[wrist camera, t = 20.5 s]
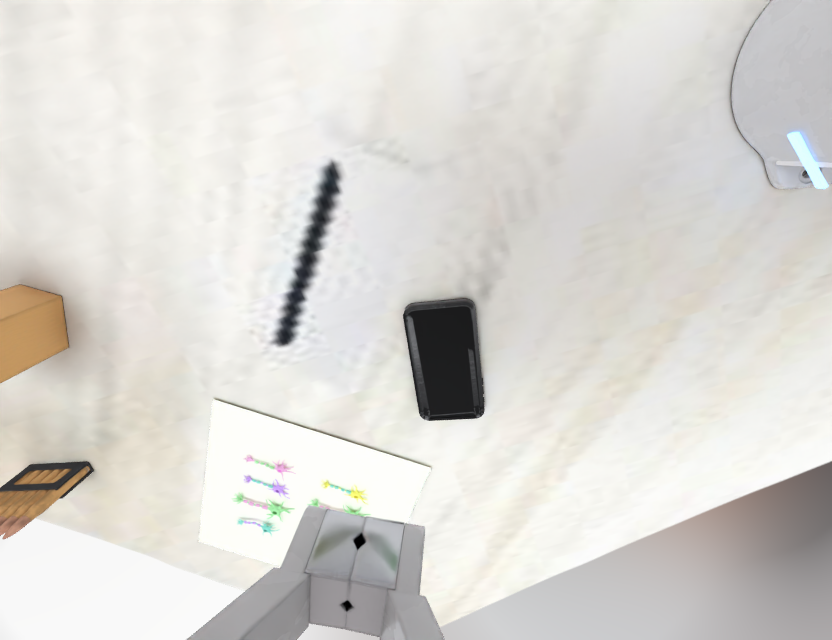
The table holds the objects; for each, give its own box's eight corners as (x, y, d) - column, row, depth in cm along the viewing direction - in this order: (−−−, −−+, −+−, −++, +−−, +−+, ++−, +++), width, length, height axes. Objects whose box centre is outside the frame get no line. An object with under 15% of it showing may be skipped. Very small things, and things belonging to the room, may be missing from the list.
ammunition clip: (88, 461, 59) (4, 533, 48) (94, 470, 60) (13, 544, 49) (29, 464, 61) (-65, 534, 50) (36, 473, 62) (-55, 544, 51)
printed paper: (431, 466, 52) (431, 474, 51) (375, 593, 65) (373, 602, 64) (214, 397, 51) (207, 404, 50) (199, 539, 64) (194, 548, 63)
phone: (420, 421, 48) (401, 308, 42) (421, 415, 49) (402, 304, 43) (486, 417, 47) (475, 301, 41) (485, 412, 48) (475, 297, 42)
